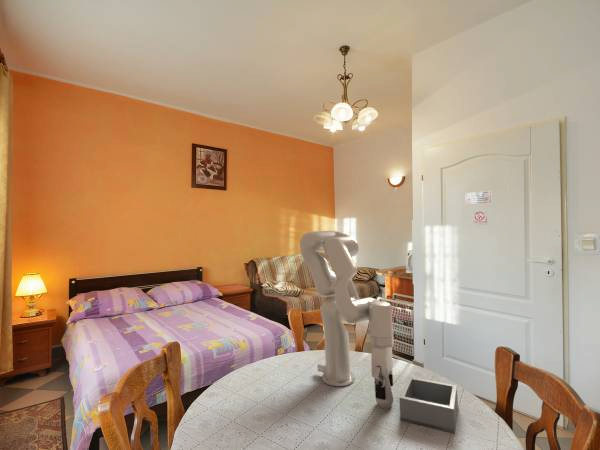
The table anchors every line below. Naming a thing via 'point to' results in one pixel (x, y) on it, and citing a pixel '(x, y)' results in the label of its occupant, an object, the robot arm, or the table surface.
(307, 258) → the robot arm
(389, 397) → the salt shaker
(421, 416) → the bin
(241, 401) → the table surface
